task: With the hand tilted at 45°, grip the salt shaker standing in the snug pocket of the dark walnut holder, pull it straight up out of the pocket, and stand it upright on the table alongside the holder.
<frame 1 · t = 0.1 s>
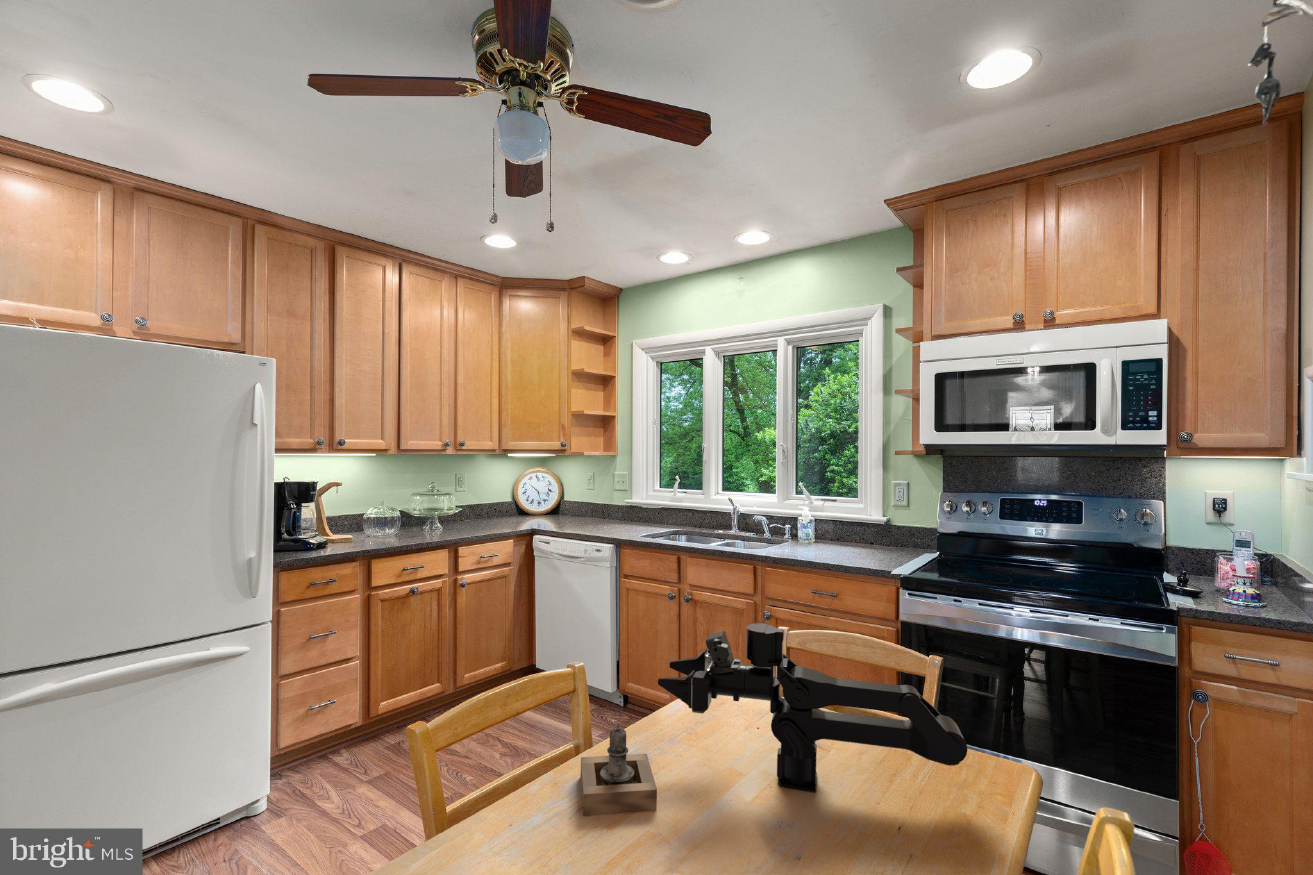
hand: (664, 672, 120), 17 cm above the table, tool horizontal, fingers open, 9 cm apart
holder: (616, 792, 108), on the table
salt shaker: (616, 794, 108), resting in holder
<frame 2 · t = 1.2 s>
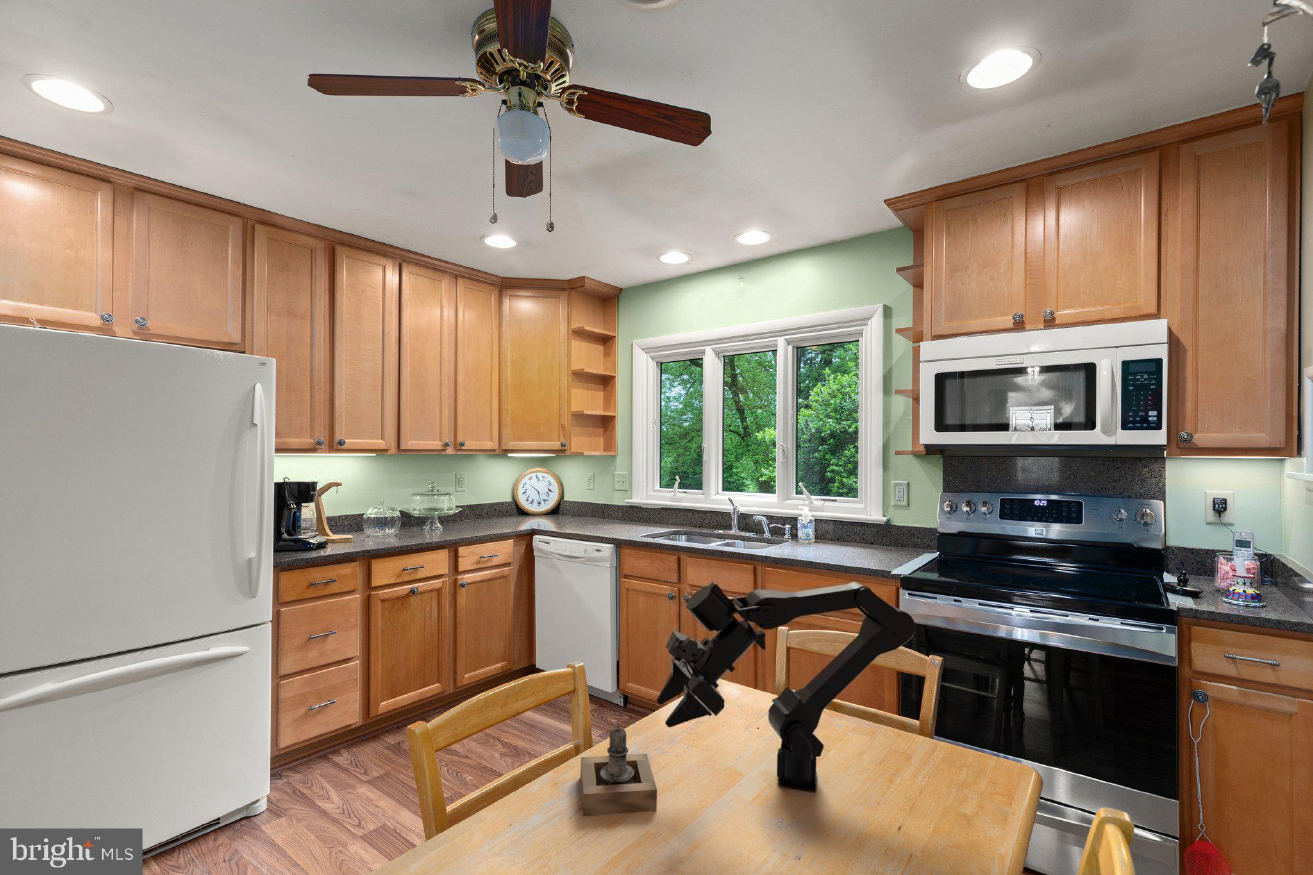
hand: (662, 713, 110), 13 cm above the table, tool tilted 45°, fingers open, 9 cm apart
nothing on the table moved.
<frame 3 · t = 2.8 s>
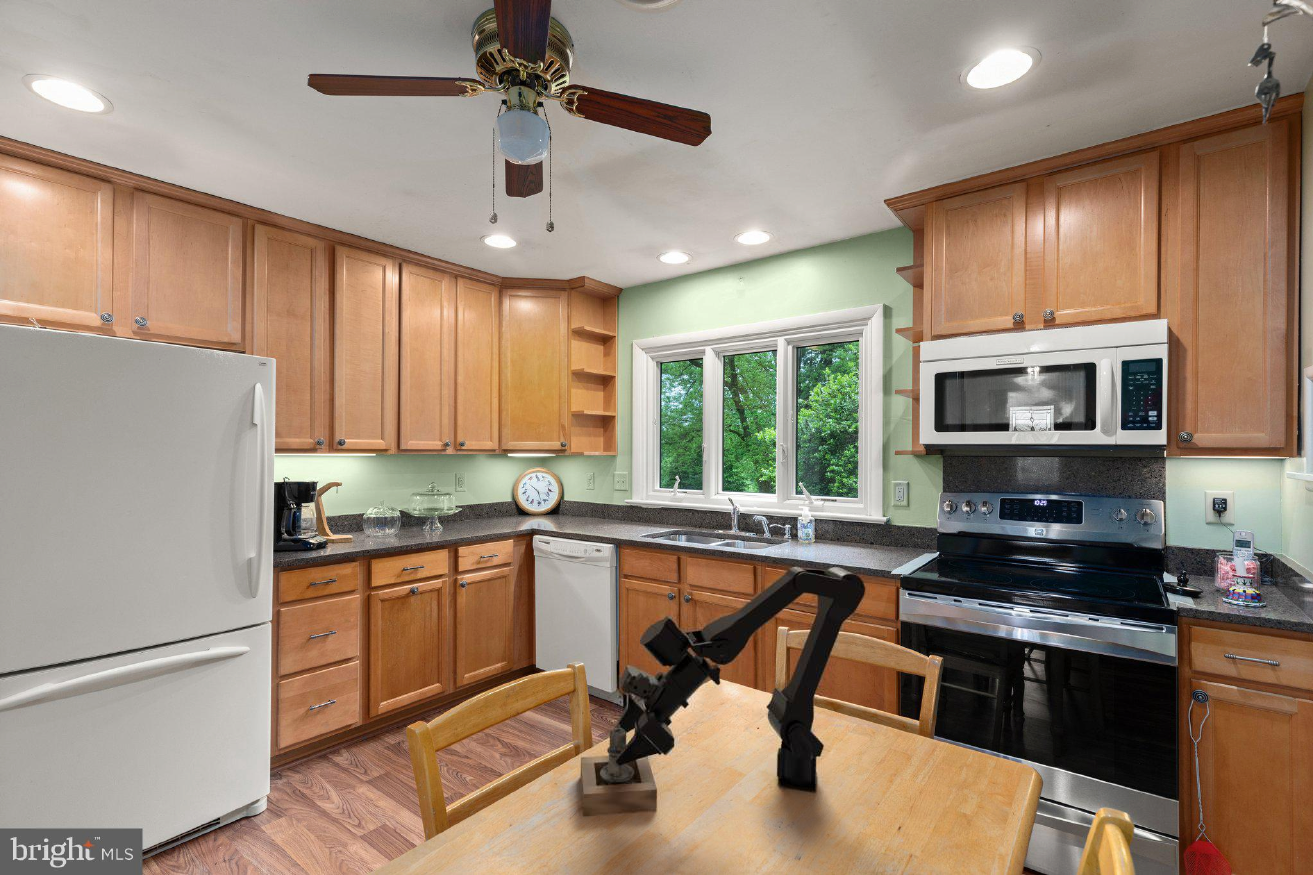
hand: (614, 749, 108), 7 cm above the table, tool tilted 45°, fingers open, 9 cm apart
nothing on the table moved.
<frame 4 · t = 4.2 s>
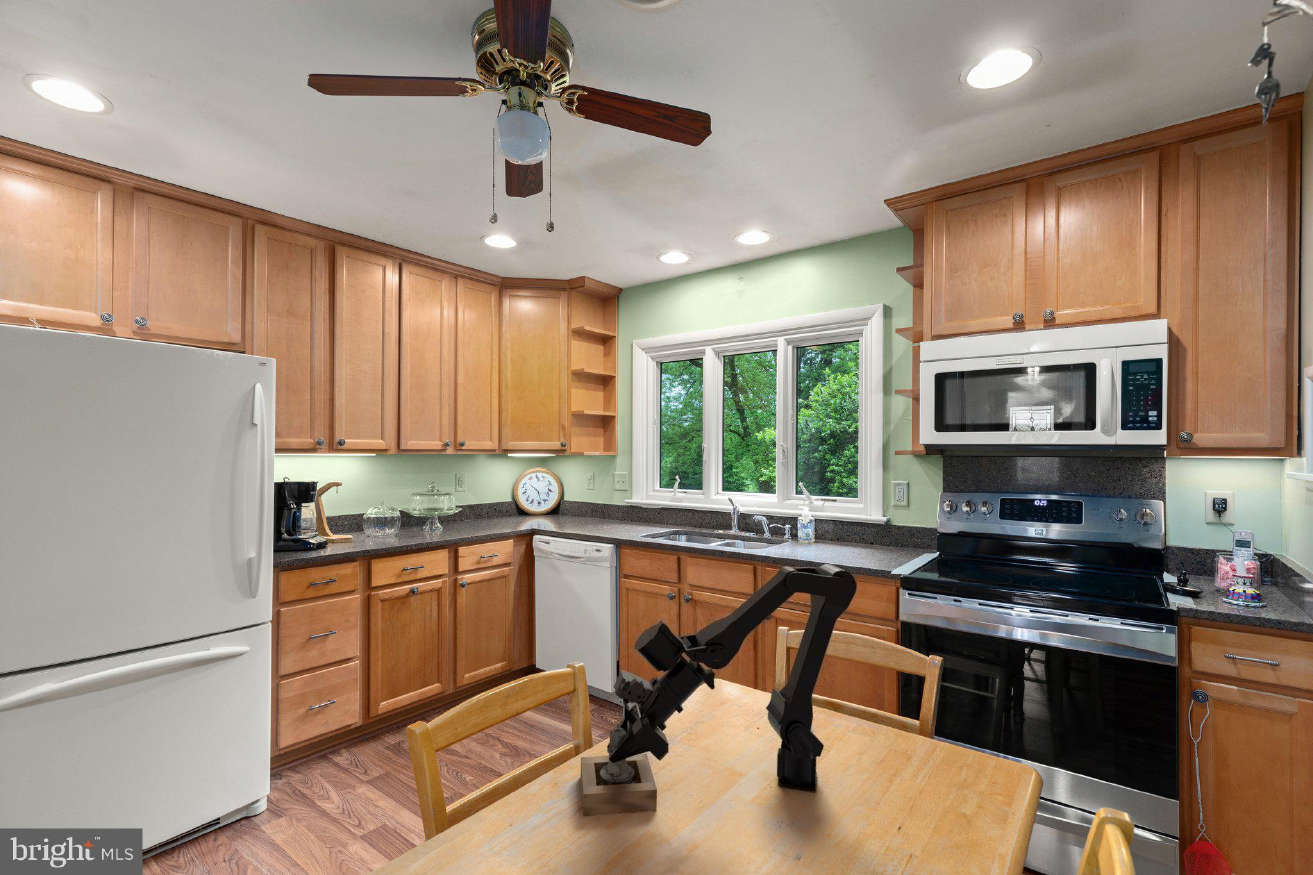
hand: (609, 755, 108), 7 cm above the table, tool tilted 45°, fingers closed on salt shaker, 4 cm apart
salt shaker: (616, 794, 108), resting in holder, touching gripper
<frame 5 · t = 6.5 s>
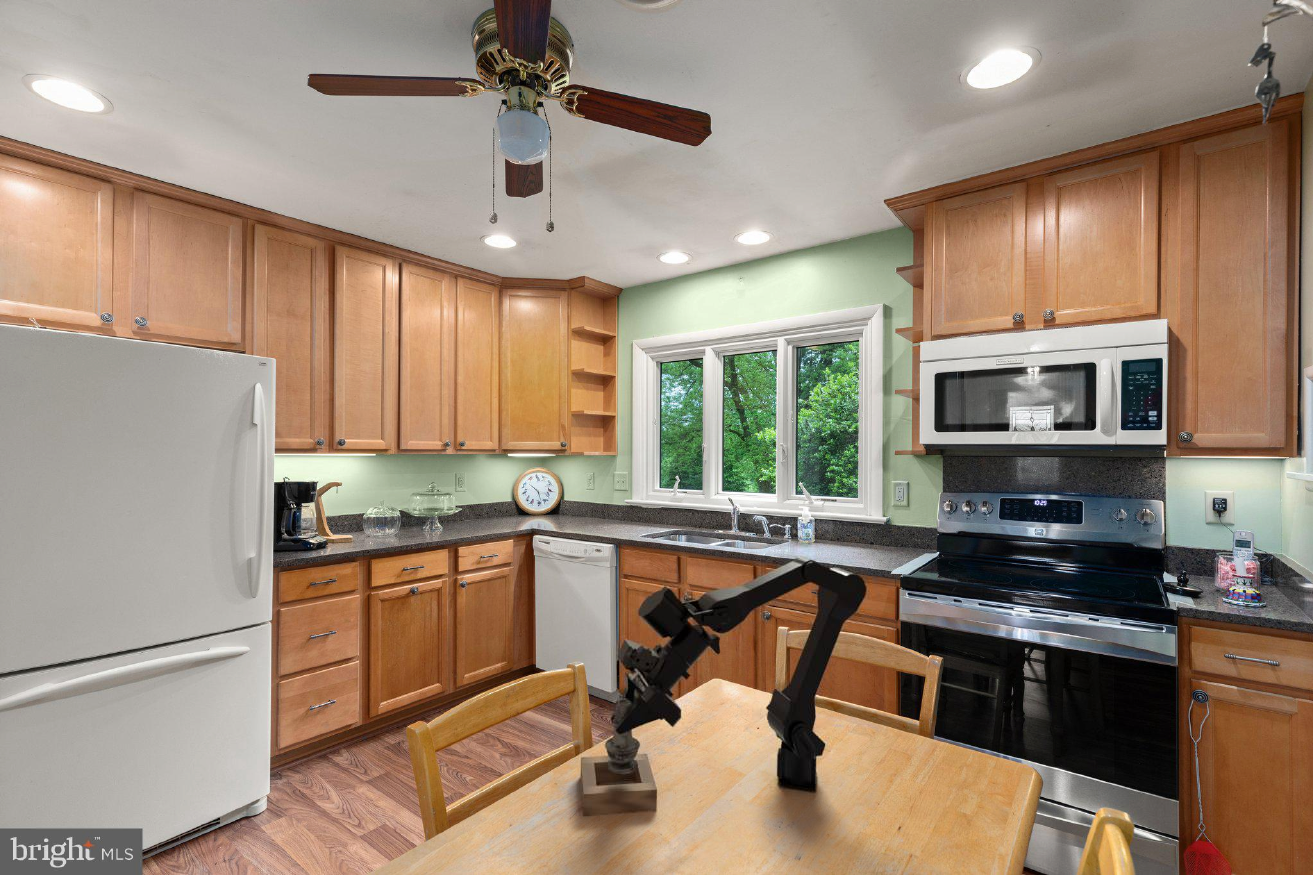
hand: (614, 726, 104), 13 cm above the table, tool tilted 45°, fingers closed on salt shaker, 4 cm apart
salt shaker: (622, 766, 105), point 6 cm above the table, touching gripper
when the fingers open (7 cm above the table, at t = 9.1 s): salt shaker stays where it is, on the table.
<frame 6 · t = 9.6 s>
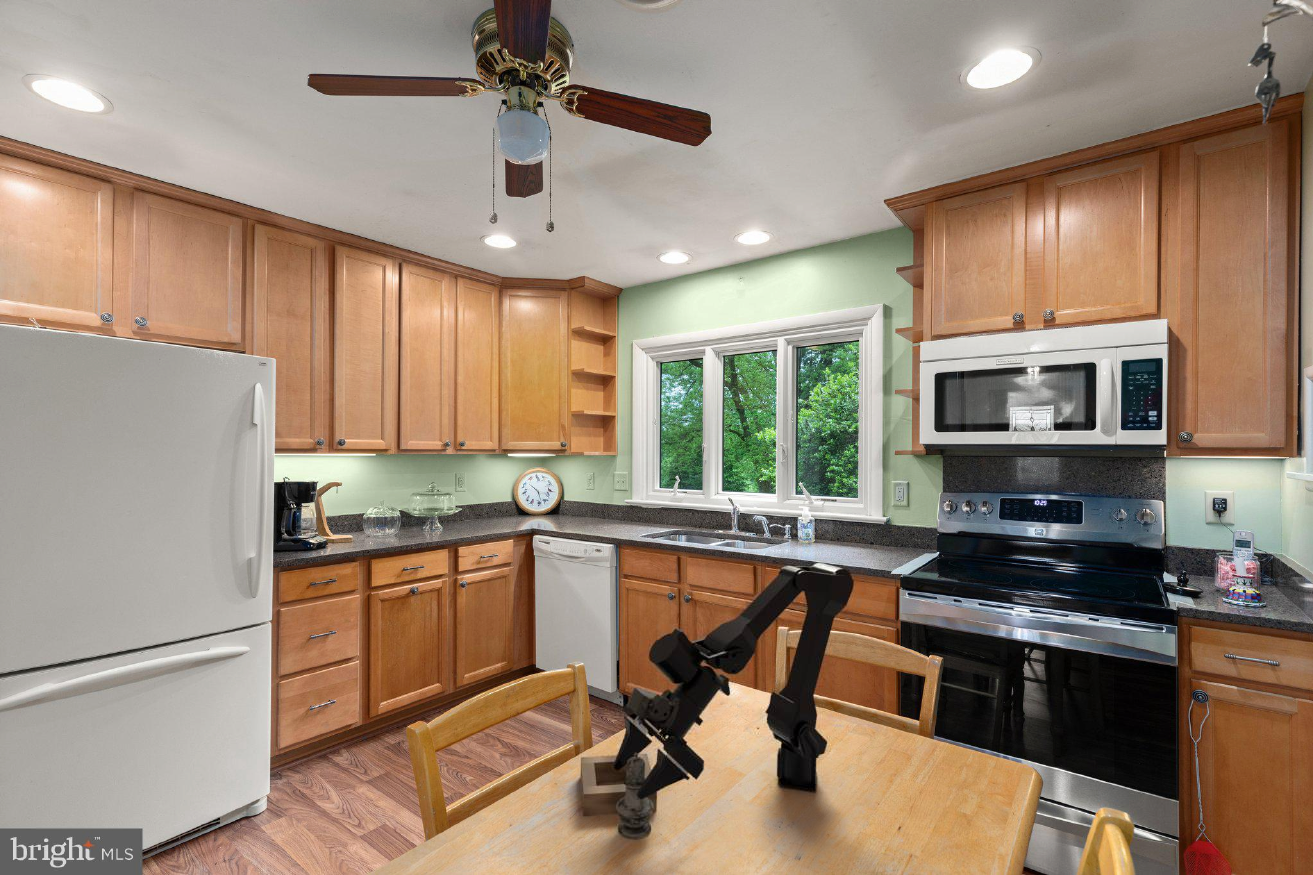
hand: (626, 782, 98), 8 cm above the table, tool tilted 45°, fingers open, 9 cm apart
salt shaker: (634, 830, 99), on the table
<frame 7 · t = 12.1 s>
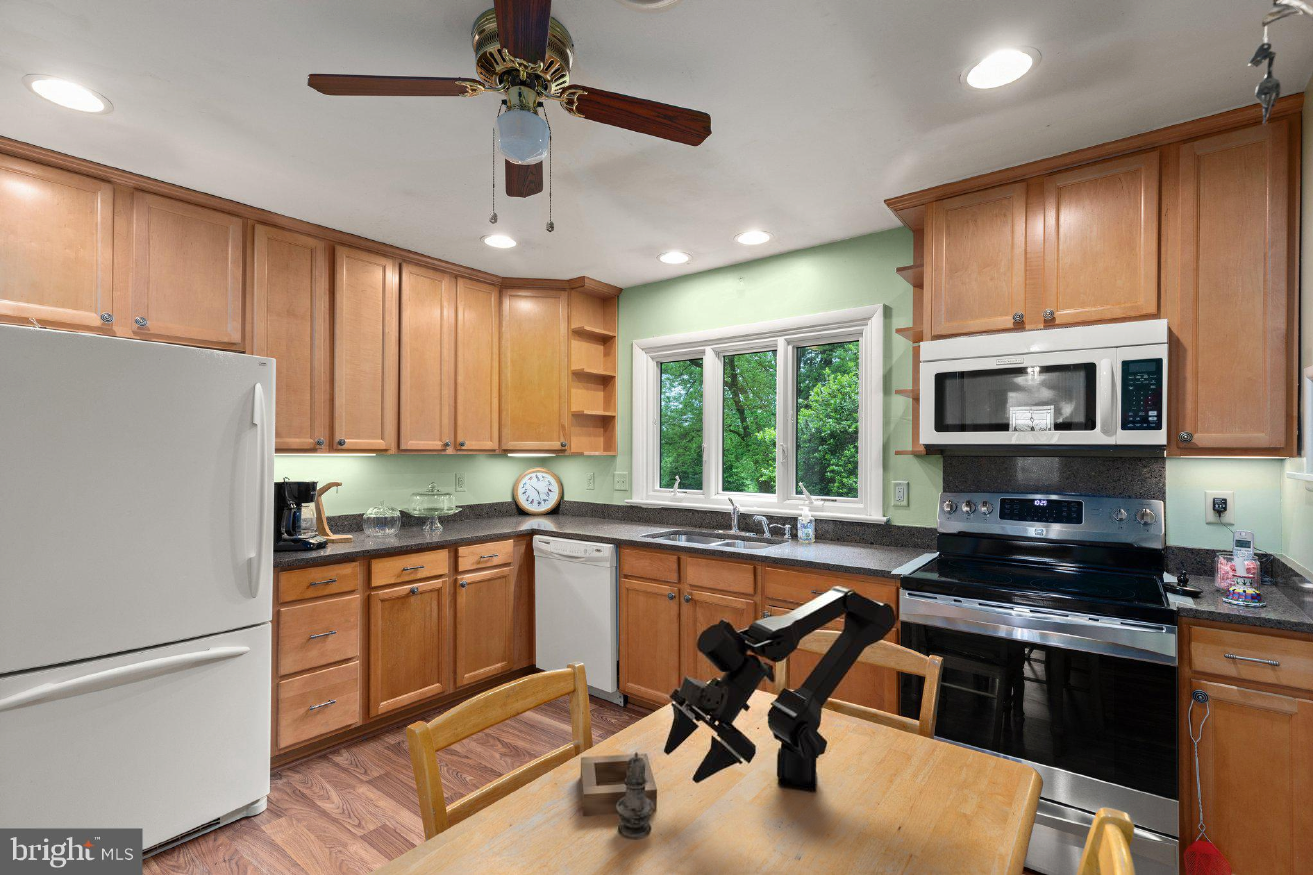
hand: (679, 766, 103), 8 cm above the table, tool tilted 45°, fingers open, 9 cm apart
nothing on the table moved.
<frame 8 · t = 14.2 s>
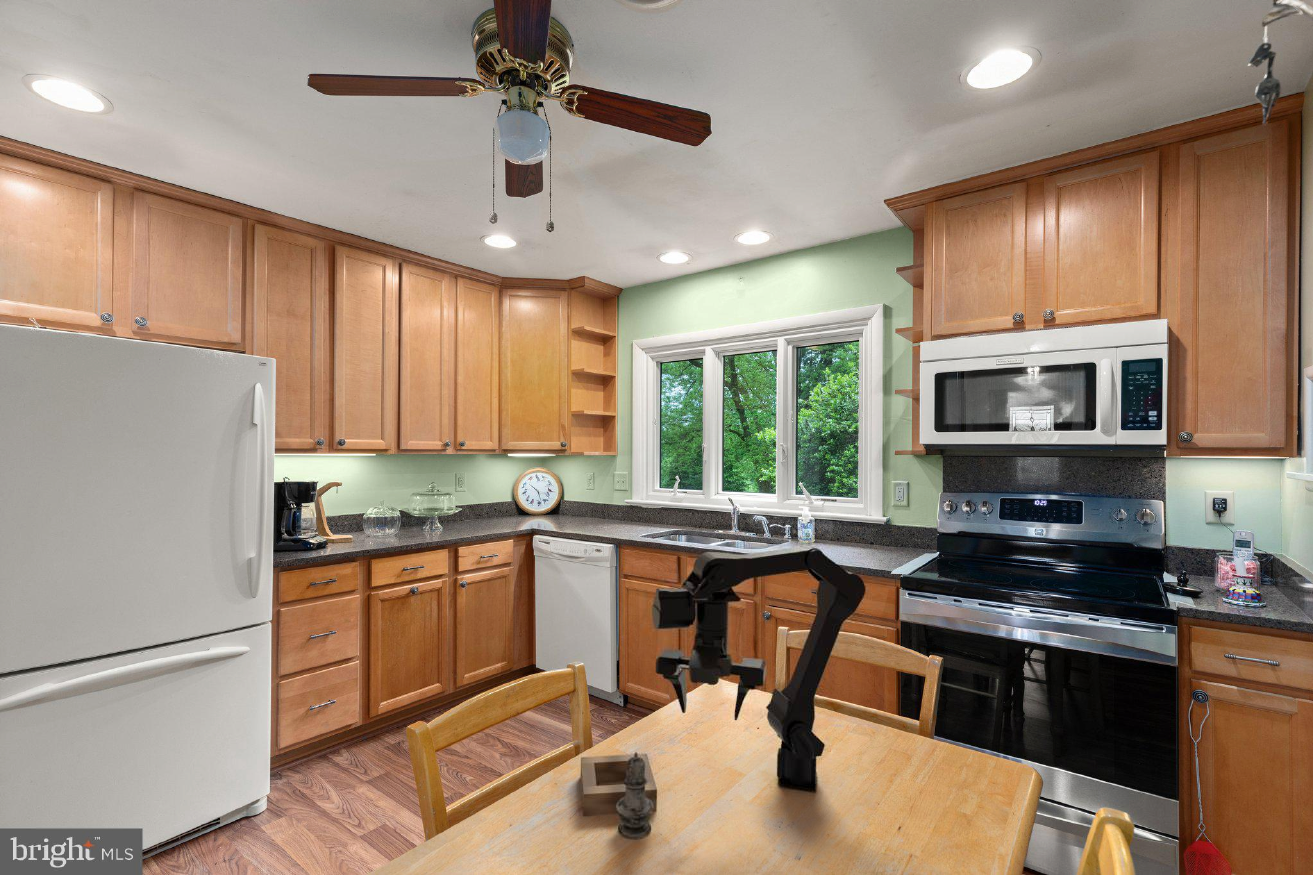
hand: (709, 715, 110), 13 cm above the table, tool pointing down, fingers open, 9 cm apart
nothing on the table moved.
at the end: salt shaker inside the target area (0.5 cm from its centre), on the table; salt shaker tilted 0°; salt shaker touching table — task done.
